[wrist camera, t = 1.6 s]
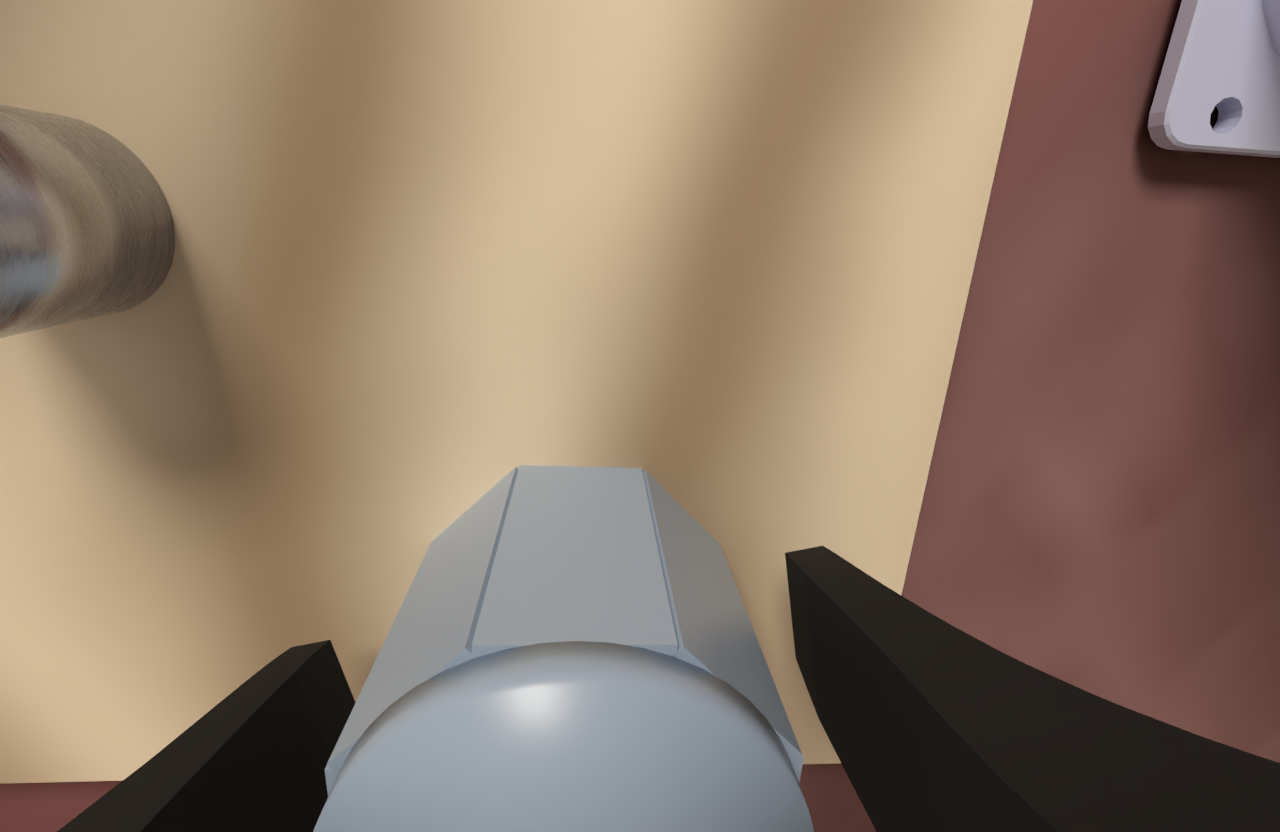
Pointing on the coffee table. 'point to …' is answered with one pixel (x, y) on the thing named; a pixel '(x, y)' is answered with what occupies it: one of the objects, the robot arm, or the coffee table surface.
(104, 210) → the stud
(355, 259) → the board
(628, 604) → the cap
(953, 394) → the coffee table surface
